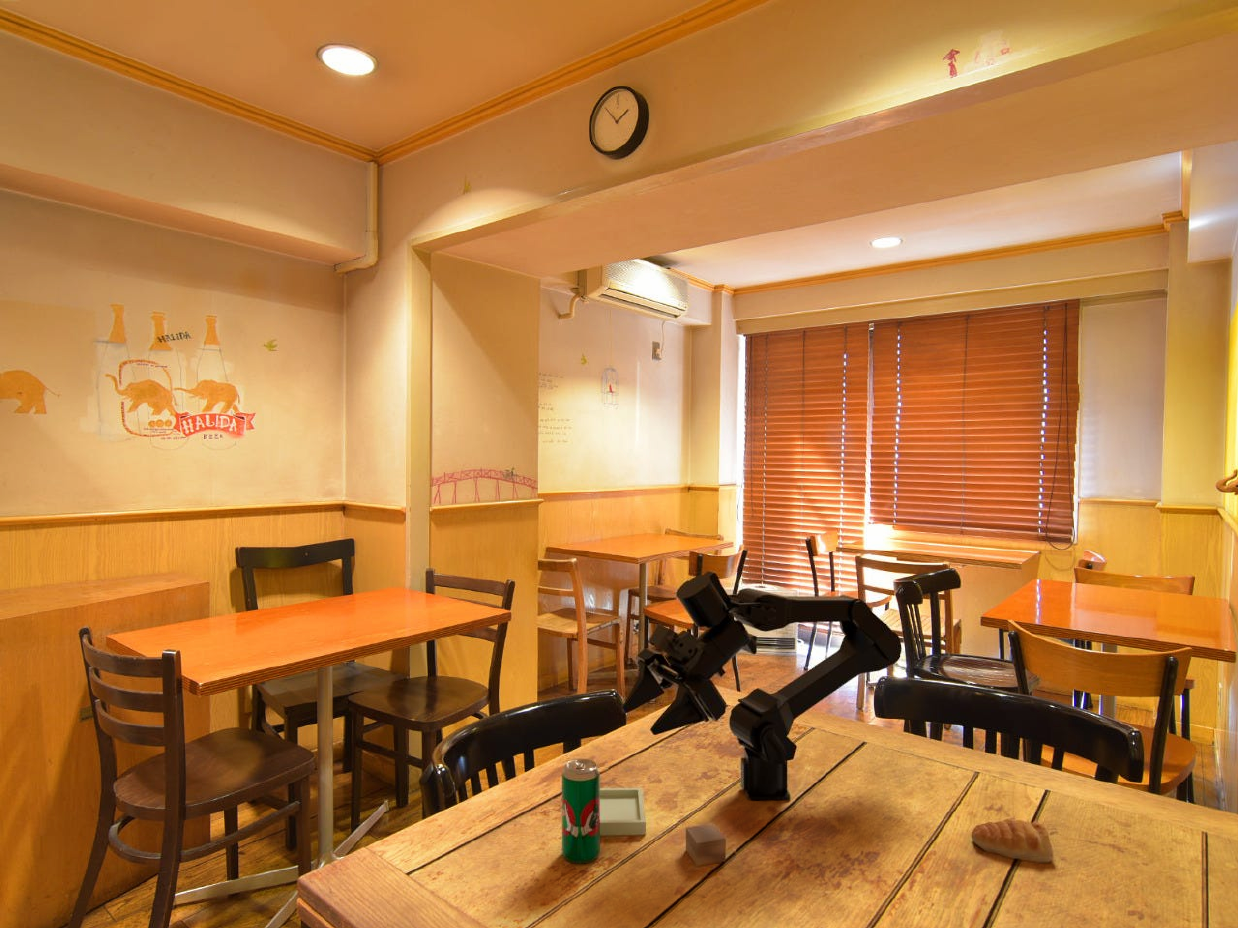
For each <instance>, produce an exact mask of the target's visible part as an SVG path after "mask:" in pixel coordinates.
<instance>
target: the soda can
mask: <svg viewBox="0 0 1238 928" xmlns="http://www.w3.org/2000/svg"><path fill="white" fill-rule="evenodd" d="M563 768H564V769H563V770H562V772H561V853H562V855H563V857H564V858H565V859H566V860H567V861H568V862H571V863H572V864H573V863H574V864H576V865H577V864H578V865H582V864H587V863H591V862H592V861H594V860H595V859H596V858H598V855H599V854H600V852H601V836H600V788H601V778H600V776H601V771H600V770H599V768H598V764H597V762H595V761H594V760H592V759H589V758H575V759H571V760H568V761H567V762H566V763H564V766H563Z"/></svg>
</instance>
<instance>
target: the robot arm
mask: <svg viewBox="0 0 1238 928" xmlns="http://www.w3.org/2000/svg"><path fill="white" fill-rule="evenodd" d="M675 594H676V597H677V599H678V600H679V602H680V603H681V605H682V606H683V608H684V609H685V611H686V613H687V614H688V616H689V617H690V619H691V620H692V622H693V624H694V625H695V626H696V627H699V628H706V629H705V630H704V631H703V632H702V633H701V634H700V635H699V636H698V637H696V636H695V635H693V634H692V633H691V632H689V631H687V630H684V629H683V630H681V631H680V632H679V633H678V632H676V631H674V630H672V629H671V628H668V627H666V626H664V625H662V624H660V623H658V624H656V627H655V629H654V630H653V632H652V634H651V635H650V637H649V639H648V641H647V643H648V644H650V645H651V646H655V647H656V648H658V649H660V650H661V651H662V652H664V653H665V654H664V655H663V653H661V652H659V651H657V650H655V649H653V648H648V647H647V648H644V649H642V650H641V651H640V652H639V653H638V654H637V655H636V659H637V662H636V664H637V667H638V675H637V679H636V681H635V683H634V685H633V687H632V689H631V690H630V691H629V694H628V695H627V697H626V699H625V700H624V703H623V704H622V706H621V709H622V711H623V712H624V713H625V714H628V713H630V712H632V711H634V710H636V709H638V708H640V707H641V706H644V705H646V704H647V703H650V702H651V701H653V700H655V699H657V698H659V697H660V696H662V695H664V694H665V691H664V690H667V689H669V688H671V687H672V686H673V685H674V687H676V688H677V690H676V695H675V698H674V700H673V701H672V702H671V703H670V704H669V706H668V707H667V708H666V709H665V710H664V711H663V713H661V715H659V717H658V718H657V719H656V721H654V723H653V724H652V725H651V727H650V729H649V730H650V732H651V734H652V735H653V736H657V735H659V734H660V735H661V734H663V733H666V732H670V731H672V730H676V729H678V728H679V729H680V728H683V727H686V726H690V725H694V724H698V723H702V722H705V723H708V722H710V720H712V721H714V722H715V723H717V722H718V721H719V720H720V719H721V718H722V717H723V716H724V714H726V709H727V702H726V701H725V699H724V697H723V695H722V694H721V693H720V692H719V690H718V688H717V686H716V685H715V684H714V682H713V681H712V680H711V679H713V677H714V676H715V675H716V676H718V677H720V678H722V677H723V676H724V675H725V674H726V673H727V672H726V671H725V669H724V667H725V665H726V664H728V663H729V662H730V661H731V660H732V659H733V658H734V657H735V656H736V655H737V654H738V653H739V652H740V651H741V650H742V651H745V652H746V653H749V654H752V655H757V650H758V649H757V648H758V645H757V640H758V636H757V635H754V634H751V633H749V632H748V630H747V628H746V626H748V627H749V628H750V627H751V628H752V629H755V630H758V631H760V632H765V633H766V632H771V631H776V630H780V629H784V628H786V627H788V626H789V625H791V624H795V623H839V627H840V630H841V632H842V634H843V635H844V637H843V638H842V641H841V644H840V646H839V649H838V650H837V651H835V652H834V653H833V654H831V655H830V656H828V657H827V658H825V659H824V660H822V661H821V662H819V663H818V664H816V665H814V666H813V667H812V668H810V669H809V670H807V671H806V672H804V673H803V674H801V675H799V676H798V677H797V678H795V679H794V680H792V681H791V682H789V683H788V684H786V685H784V687H781V689H778V690H777V691H775V692H774V693H768V692H766V691H764V690H763V689H761V688H755V689H753V690H752V691H751V692H749V694H748V695H746V696H744V697H741V698H738V699H737V702H738V703H737V704H736V705H735V706H734V707H732V709H731V710H730V715H729V720H728V721H729V722H728V723H729V729H730V732H731V733H732V735H734V736H735V737H736V740H737V743H738V744H739V745H740V746H743V748H744V749H743V757H741V758H740V784H741V787H742V789H743V791H745V794H746V795H747V798H748V800H753V801H754V800H755V801H756V800H757V801H759V800H760V801H764V800H765V801H767V800H770V801H771V800H776V801H777V800H791V794H790V792H789V790H788V761H789V762H790V761H793V760H794V759H795V756H796V752H797V748H798V747H797V745H796V743H794V742H793V741H792V740H791V739H790V738H789V736H788V735H789V734H790V732H791V730H792V727H793V724H794V721H795V720H797V718H799V717H800V716H802V715H803V714H804V713H806V712H807V711H809V710H810V709H812V708H813V707H814V706H816V705H817V704H819V703H820V702H822V701H823V700H824V699H826V698H827V697H829V696H830V695H832V694H833V693H835V692H836V691H838V690H839V689H840V688H841V687H843V686H844V685H845V684H847V683H849V682H851V681H852V680H853V679H854V678H856V677H857V676H859V675H861V674H867V673H873V672H874V673H875V672H880V671H882V670H884V669H887V668H889V667H890V666H893V665H894V664H896V663H898V661H899V660H900V659H901V654H902V651H903V650H902V649H903V647H902V641H901V638H900V636H899V635H898V634H897V633H896V632H895V631H892V629H891V628H890V627H889V625H888V624H886V623H885V622H884V621H883V620H882V619H881V618H879V617H878V615H876V614H875V613H874V611H872V609H870V606H869V605H868V604H867V603H866V602H865V601H864V600H863V599H861V598H857V597H854V596H853V597H852V596H850V595H845V594H842V595H836V596H834V595H833V596H832V595H831V596H826V595H824V596H823V595H822V596H821V595H820V596H817V595H815V596H813V595H811V596H810V595H809V596H807V595H806V596H805V595H804V596H803V595H802V596H801V595H799V596H798V595H797V596H795V595H793V596H792V595H791V596H790V595H789V596H785V595H779V594H776V593H772V592H768V591H763V590H759V589H756V588H755V589H754V588H750V587H746V588H741V589H740V590H739V591H738V593H735V594H733V593H732V594H728V593H727V591H726V590H725V588H724V587H723V585H722V583H721V579H720V578H719V576H718V574H717V573H716V572H714V571H710V570H707V571H706V572H705V573H704V574H701V575H698V576H695V577H693V578H691V579H689V580H686V581H685V582H683V583H682V584H681V585H680V586H679V587H678V589H677V590H676V593H675ZM732 614H733V615H732Z"/></svg>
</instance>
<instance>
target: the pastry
mask: <svg viewBox="0 0 1238 928" xmlns="http://www.w3.org/2000/svg"><path fill="white" fill-rule="evenodd" d="M971 840H972V841H973V843H975V844H976V845H977V846H978V847H980V849H982V850H983V851H986V852H989V853H992V854H998V855H1000V856H1004V857H1006V858H1008V859H1012V860H1014V859H1017V860H1022V861H1029V862H1036V863H1046V862H1047V863H1050V862H1052V861H1053V860H1054V857H1055V856H1054V851H1053V850H1054V849H1053V845H1052V843H1051V840H1050V835H1049V831H1047V828H1046V827H1045V825H1044V824H1043V823H1040V822H1039V821H1037V820H1034V821H1033V822H1029V821H1025V820H1021V819H1013V818H1005V819H1003V820H999V821H995V822H993V821H988V822H985V823H981V824H977V825H975V826H974V828H973V829H972V831H971Z"/></svg>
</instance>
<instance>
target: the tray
mask: <svg viewBox="0 0 1238 928" xmlns="http://www.w3.org/2000/svg"><path fill="white" fill-rule="evenodd" d="M643 790H644V789H643V787H600V837H601V836H646V835H647V819H646V810H645V801H644V792H643Z"/></svg>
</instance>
